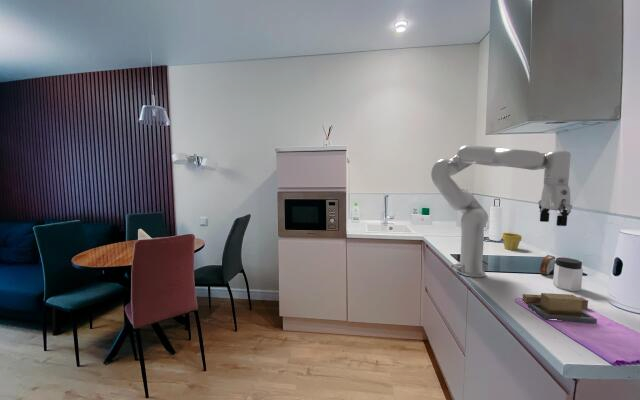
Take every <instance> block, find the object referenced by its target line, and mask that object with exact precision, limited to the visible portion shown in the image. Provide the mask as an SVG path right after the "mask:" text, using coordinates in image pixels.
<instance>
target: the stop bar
mask: <svg viewBox="0 0 640 400" xmlns="http://www.w3.org/2000/svg"><path fill="white" fill-rule="evenodd" d="M540 295H541V302H540V310H542V311H543V312H545V313H546V314H548V315H563V316H578V317H581V312H582V311H583V308H582V301H583V300H582V299H580V298H578V296H576V295H574V294H570V293H569V294H568V293H567V294H566V293H549V292H541V293H540Z"/></svg>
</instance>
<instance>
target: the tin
mask: <svg viewBox="0 0 640 400" xmlns="http://www.w3.org/2000/svg"><path fill="white" fill-rule="evenodd" d="M555 263H556V257H555V256H554V255H550V254H547V255H545V256H544V257H543V258H542V260H541V263H540V268H539V273H540V274H542V275H545V276H548V275H549V274H551V273H552V272H553V271H554V266H555ZM552 270H553V271H552ZM551 271H552V272H551ZM550 272H551V273H550Z"/></svg>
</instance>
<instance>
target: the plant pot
mask: <svg viewBox="0 0 640 400" xmlns="http://www.w3.org/2000/svg"><path fill="white" fill-rule="evenodd" d="M501 238H502V240H503V247H504V249H505V250H508V251H517V250H518V247H519V244H520V242H521V241H522V238H523V237H522V234H518V233H513V232H512V233H511V232H503V233H501Z"/></svg>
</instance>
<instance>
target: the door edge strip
mask: <svg viewBox="0 0 640 400" xmlns="http://www.w3.org/2000/svg"><path fill="white" fill-rule="evenodd" d="M577 297H578V296H577ZM578 298H580V299H582V300H583V301H582V309H588V306H589V305H588V304H589V300H587V299H586V298H584V297H580V296H579V297H578ZM521 301H524V302H525V303H526V304H528V303H537V304H540V302H541V294H528V293H523V294H522V300H521ZM524 302H523V303H524ZM525 303H524V304H525ZM526 304H525V305H526Z"/></svg>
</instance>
